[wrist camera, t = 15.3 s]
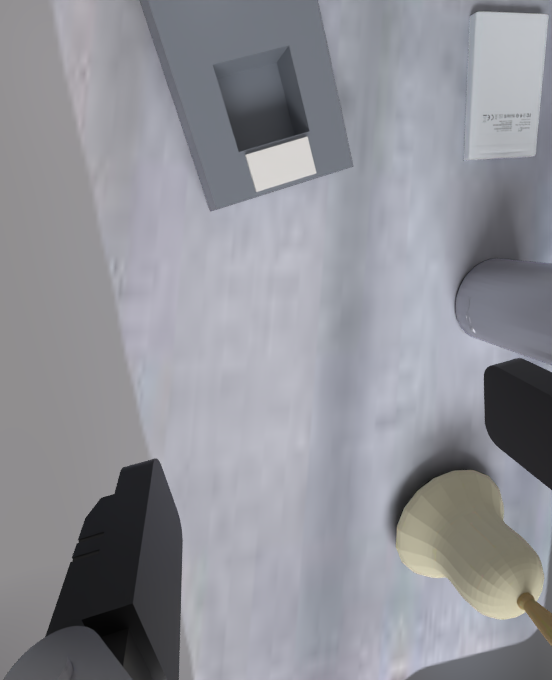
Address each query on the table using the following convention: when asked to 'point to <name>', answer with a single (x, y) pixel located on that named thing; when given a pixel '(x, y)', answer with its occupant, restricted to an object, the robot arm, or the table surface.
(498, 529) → the handbell
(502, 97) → the external hard drive
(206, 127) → the socket block
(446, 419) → the table surface
